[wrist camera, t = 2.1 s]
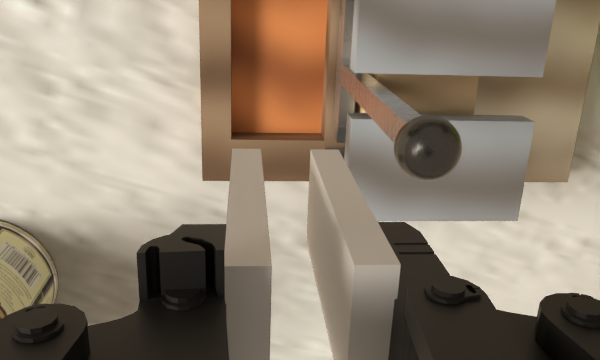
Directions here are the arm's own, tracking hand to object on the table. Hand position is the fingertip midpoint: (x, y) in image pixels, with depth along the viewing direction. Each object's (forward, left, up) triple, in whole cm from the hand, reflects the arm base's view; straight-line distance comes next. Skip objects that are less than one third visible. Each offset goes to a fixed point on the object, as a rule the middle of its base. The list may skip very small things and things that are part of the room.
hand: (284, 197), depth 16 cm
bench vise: (0, +10, -26) cm, 28 cm away
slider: (0, +9, -24) cm, 25 cm away
